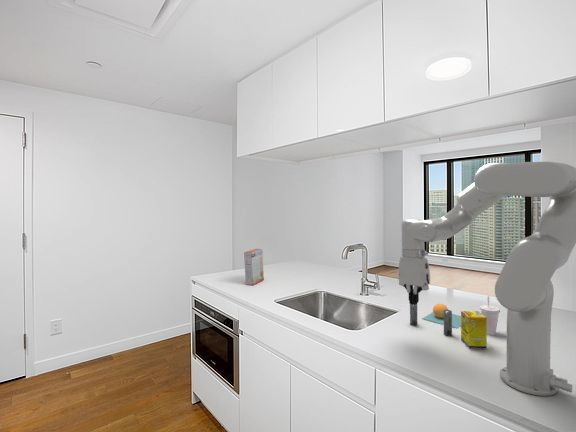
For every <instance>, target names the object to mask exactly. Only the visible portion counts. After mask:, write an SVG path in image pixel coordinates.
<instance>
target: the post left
mask: <svg viewBox="0 0 576 432" xmlns="http://www.w3.org/2000/svg"><path fill="white" fill-rule="evenodd" d="M409 325H410V326H412V327H417V326H418V303H417V304H415V305H412V304H409Z"/></svg>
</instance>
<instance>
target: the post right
mask: <svg viewBox="0 0 576 432" xmlns="http://www.w3.org/2000/svg"><path fill="white" fill-rule="evenodd" d="M452 314H453V311H452V310H450V309H448V310H444V325H443V335H444V336H446V337H452V336H453V327H452Z"/></svg>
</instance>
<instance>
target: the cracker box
mask: <svg viewBox="0 0 576 432" xmlns="http://www.w3.org/2000/svg"><path fill="white" fill-rule="evenodd" d="M263 254H264V253H263V249H262V248H254V249H251V250H248V251H244V253H243V255H244V272H245V273H244V274H245V275H244V277H245V285H246V286H255V285H257V284H259V283H261V282H262V281H264V280H265V279H264V278H265V277H264V275H265V274H264V256H263Z"/></svg>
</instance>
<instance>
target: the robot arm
mask: <svg viewBox="0 0 576 432" xmlns="http://www.w3.org/2000/svg"><path fill="white" fill-rule="evenodd" d="M507 196H508V197H509V196H511V197H534V198H549V202H548V205H547V207H546V208H545V209H544V211H543V213H542V215H541V216H540V219H539V221H538V223H537V225H536V227H535V229H534V230H533V231H532V233H531V235H529V236H526V237H523V238H522V239H520V240H519V241H517V242H516V244H515V245H513V247H512V249H511V251H510V253H509V254H508V257H507V259H505V262H504V264H503V266H502V268H501V271H500V272H499V275H498V278H497V279H496V282H495V284H494V295H495V298H496V300H497V301H498V303H499V304H500V305H501V306H502V307H503V308H505V309H506V311H507V312H506V366H504V367H502V368H500V370H499V377H500V378H501V380H502V381H503V382H504V383H505V384H506V385H508V386H510V387H511V388H513V389H515V390H518V391H519V392H523V393H526V394H530V395H535V396H538V397H539V396H540V397H541V396H543V397H546V396H547V397H548V396H553V395H555V394H557V393H558V390H559V389H560V390H562V391H566V392H568V393H573V384H571V383H569V382H568V379H566V378H563V377H559V376H556V375H555V374H554V369H553V368H551V336H552V334H551V332H552V329H551V328H552V312H553V311H552V310H553V305H554V303H553V302H554V296H555V295H554V291H555V290H554V284H553V282H552V280H551V279H552V278H553V276H554V275H555V272H556V271H557V270H558V269H560V268H561V267H563V266H565V265H566V263H567V262H568V260H569V259H570V256H571V254H572V252H573V250H574V248H575V246H576V167H575V166H573V165H571V164H569V163H567V164H566V163H563V162H555V161H523V162H522V161H521V162H520V161H519V162H490V163H486V164H484V165H482V166H481V167H480V168H479V169H478V170H477V171H476V172H475V174H474V178H473V182H471V183H470V185H468V186H467V187H466V188H465V189H463V190H462V191H461V192H458V194H457V196H456V201H457V202H456V204H455V206H454V207H453V208H451V210H449V211H448V212H447V213H445V214H444V215H443V216H441V217H439V218H432V219H424V220H423V219H421V218H420V219H419V218H406V219H403V220H402V221H401V255H400V258H399V263H398V272H397V275H398V276H397V277H398V285H399V286H400V287H404V289H405V290H406V291H407V293H408V301H409V302H408V303H409V305H410V304H412V305H415V304H417V305H418V303H419V301H420V298H419V294H420V293H421V292H422V291H428V290H429V289H430V288H429V287H430V283H431V273H430V265H429V260H428V258H427V256H429V251H426V249H425V242H426V243H435V242H438V241H444V240H447V239H450V238H452V237H454V236H455V235H457V234H458V233H460V232H461V231H462V230H464V229H465V228H467V227H468V226H469V225H470V224H472V222H473V221H474V220H476V219H477V218H478V216H479V215H481V214H482V213H484V212H485V211H486V210H487V211H488V209H490V208H491V207H492V206H494V205H496V204H497V203H499V201H501V200H503V199H504V198H505V197H507Z"/></svg>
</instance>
